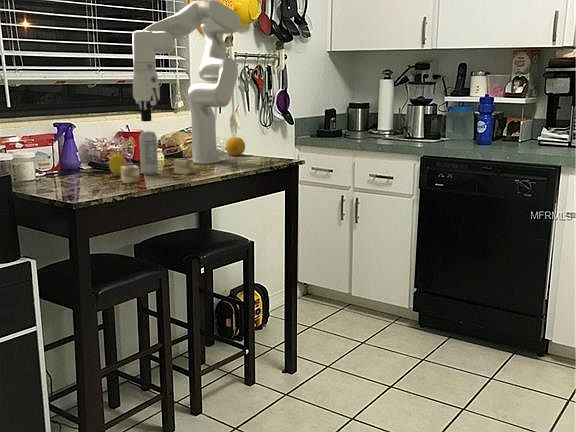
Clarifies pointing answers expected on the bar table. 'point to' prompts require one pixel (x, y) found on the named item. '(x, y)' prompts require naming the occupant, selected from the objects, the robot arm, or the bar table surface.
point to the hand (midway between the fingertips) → (146, 121)
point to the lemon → (116, 163)
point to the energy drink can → (148, 153)
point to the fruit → (235, 146)
